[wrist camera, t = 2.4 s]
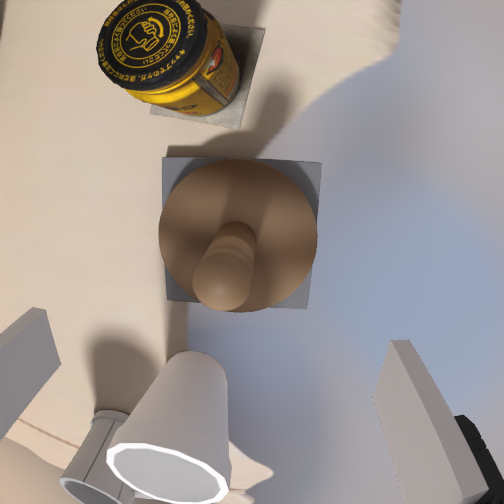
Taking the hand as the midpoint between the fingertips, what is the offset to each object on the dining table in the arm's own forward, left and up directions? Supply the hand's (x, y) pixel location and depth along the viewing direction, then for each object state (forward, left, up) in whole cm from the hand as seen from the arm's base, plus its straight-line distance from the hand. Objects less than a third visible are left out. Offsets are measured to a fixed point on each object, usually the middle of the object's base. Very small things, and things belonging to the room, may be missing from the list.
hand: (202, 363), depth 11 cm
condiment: (-13, -3, -16) cm, 21 cm away
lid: (0, 0, -15) cm, 15 cm away
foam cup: (+15, -4, -16) cm, 22 cm away
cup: (+27, -14, -16) cm, 34 cm away
